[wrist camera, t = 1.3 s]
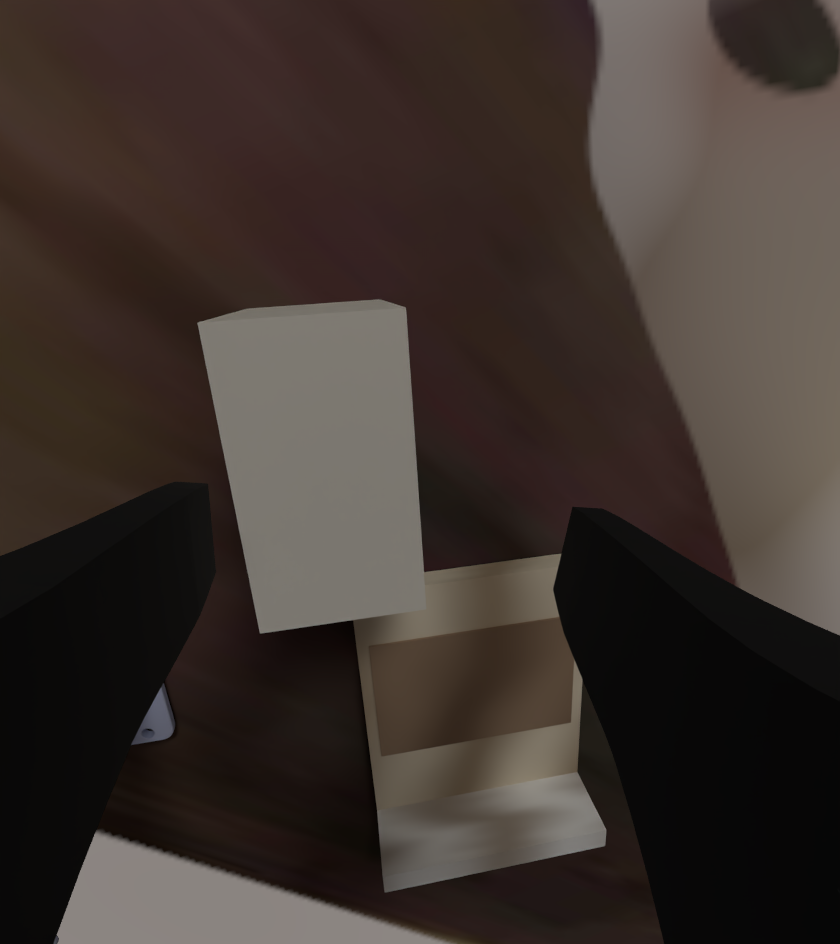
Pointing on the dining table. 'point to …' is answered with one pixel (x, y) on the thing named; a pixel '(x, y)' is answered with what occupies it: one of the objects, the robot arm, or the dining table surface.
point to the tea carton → (320, 458)
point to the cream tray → (475, 726)
